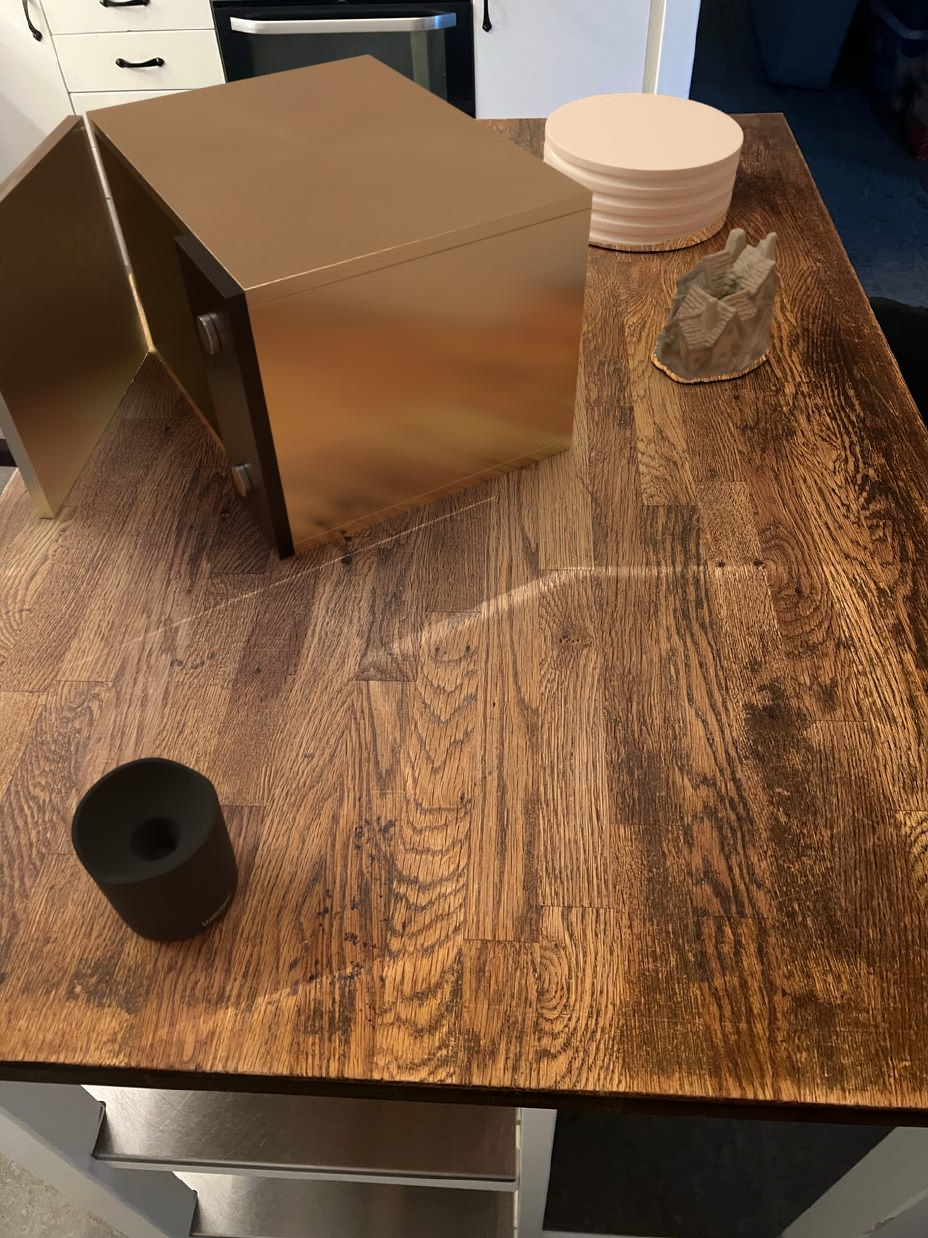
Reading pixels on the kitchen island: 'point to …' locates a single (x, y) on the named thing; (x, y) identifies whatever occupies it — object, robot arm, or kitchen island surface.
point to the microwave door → (61, 315)
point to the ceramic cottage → (721, 311)
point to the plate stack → (646, 163)
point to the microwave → (350, 288)
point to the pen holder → (157, 847)
